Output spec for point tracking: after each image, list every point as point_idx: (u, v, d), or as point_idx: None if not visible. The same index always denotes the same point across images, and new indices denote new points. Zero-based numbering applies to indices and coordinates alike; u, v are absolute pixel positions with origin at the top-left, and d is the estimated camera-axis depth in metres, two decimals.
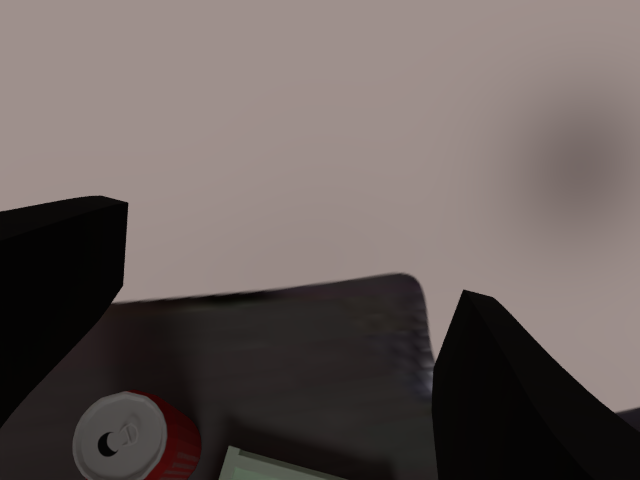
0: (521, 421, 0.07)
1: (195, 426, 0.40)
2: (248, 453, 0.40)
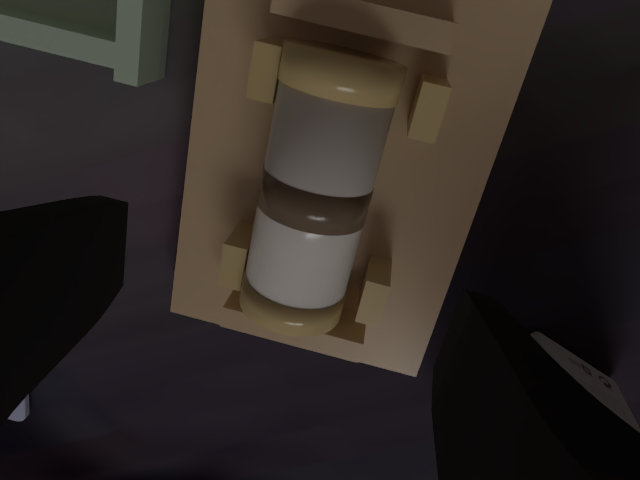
0: (521, 421, 0.07)
1: None
2: None
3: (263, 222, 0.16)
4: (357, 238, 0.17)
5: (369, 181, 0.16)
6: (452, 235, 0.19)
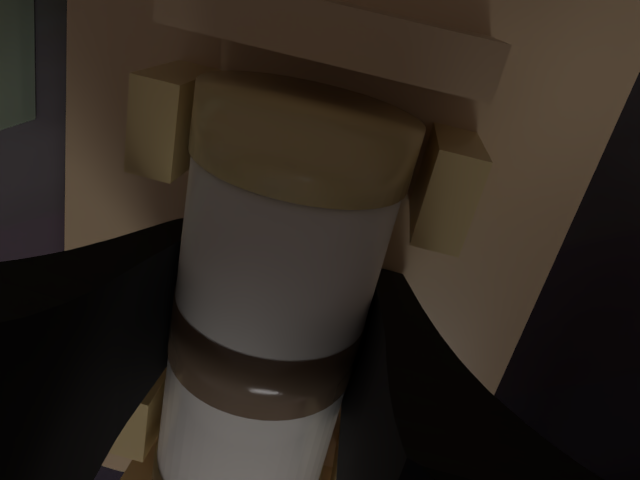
0: (379, 384, 0.07)
1: None
2: None
3: (180, 395, 0.09)
4: (342, 398, 0.10)
5: (363, 318, 0.09)
6: (481, 370, 0.12)
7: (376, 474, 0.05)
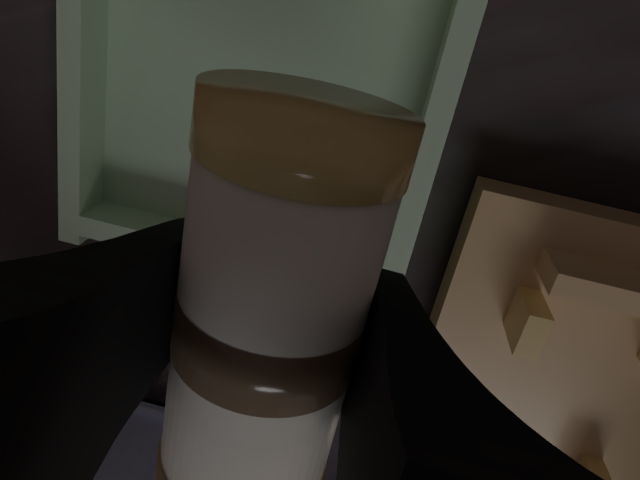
0: (380, 384, 0.07)
1: None
2: None
3: (182, 392, 0.09)
4: (344, 397, 0.10)
5: (364, 316, 0.09)
6: None
7: (377, 474, 0.05)
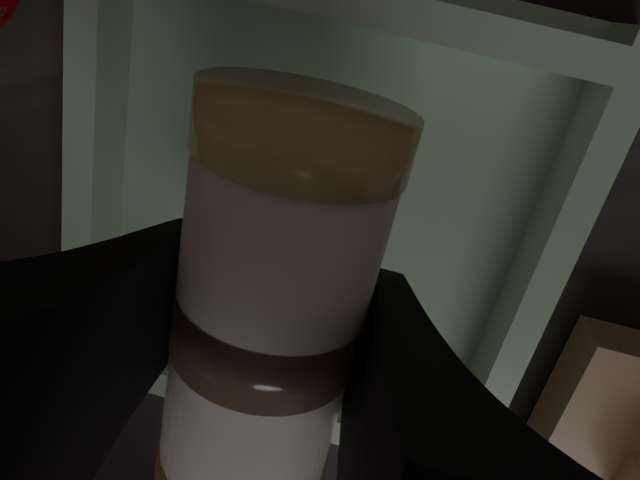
0: (380, 384, 0.07)
1: None
2: None
3: (181, 391, 0.09)
4: (343, 395, 0.10)
5: (363, 314, 0.09)
6: None
7: (377, 474, 0.05)
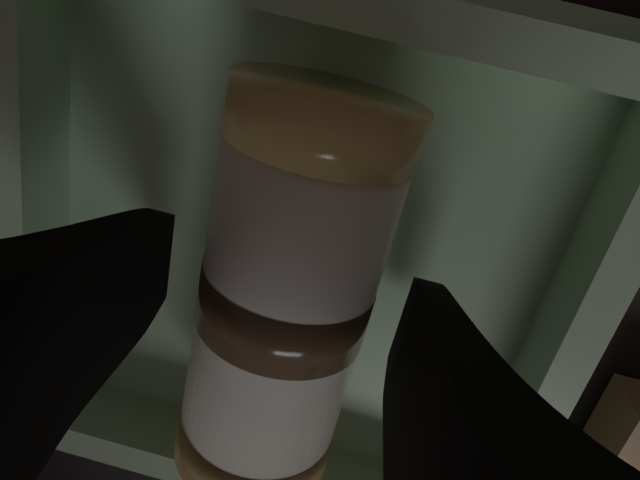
0: (443, 400, 0.07)
1: None
2: None
3: (210, 362, 0.10)
4: (354, 362, 0.11)
5: (377, 286, 0.10)
6: None
7: None
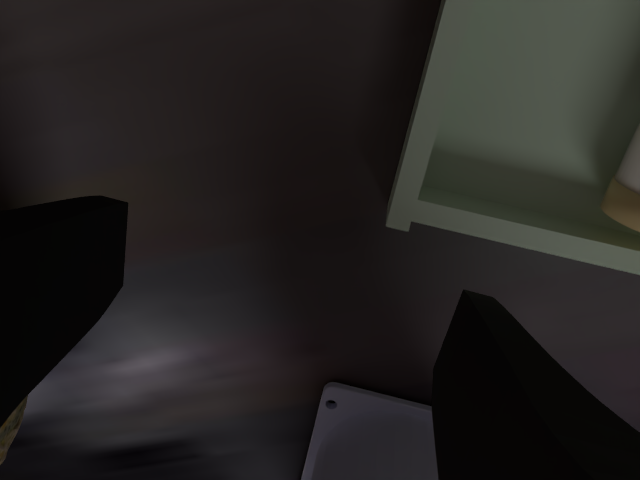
0: (521, 421, 0.07)
1: None
2: None
3: None
4: None
5: None
6: None
7: None
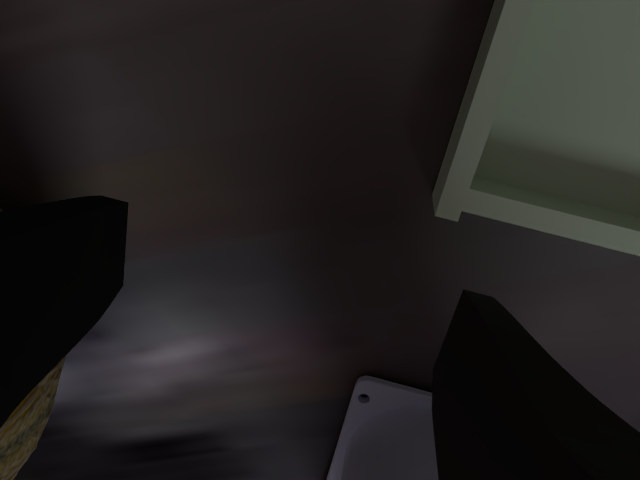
0: (521, 421, 0.07)
1: None
2: None
3: None
4: None
5: None
6: None
7: None
